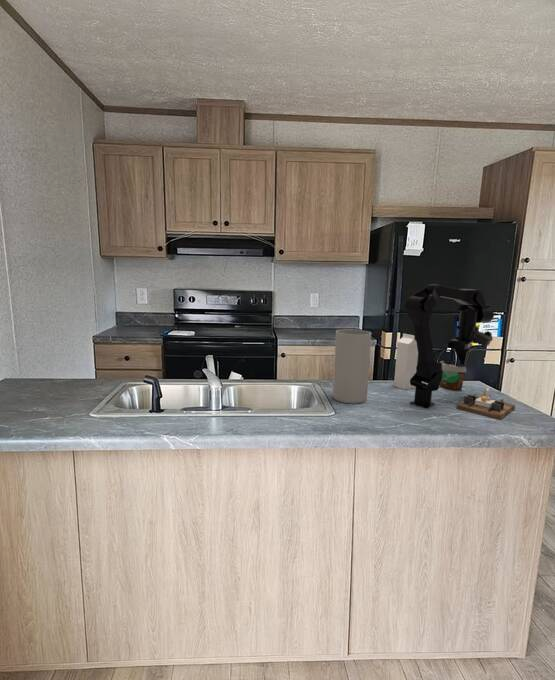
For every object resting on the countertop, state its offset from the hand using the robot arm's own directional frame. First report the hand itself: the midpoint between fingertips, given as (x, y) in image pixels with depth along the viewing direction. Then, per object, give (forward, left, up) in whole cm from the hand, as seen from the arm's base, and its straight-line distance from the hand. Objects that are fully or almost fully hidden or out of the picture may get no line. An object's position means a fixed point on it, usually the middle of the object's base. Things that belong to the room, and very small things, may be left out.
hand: (463, 364), depth 148 cm
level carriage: (-7, -11, -11) cm, 17 cm away
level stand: (-6, -11, -13) cm, 18 cm away
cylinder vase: (-33, +27, -13) cm, 45 cm away
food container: (+10, +9, -13) cm, 19 cm away
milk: (-3, +21, -13) cm, 25 cm away
